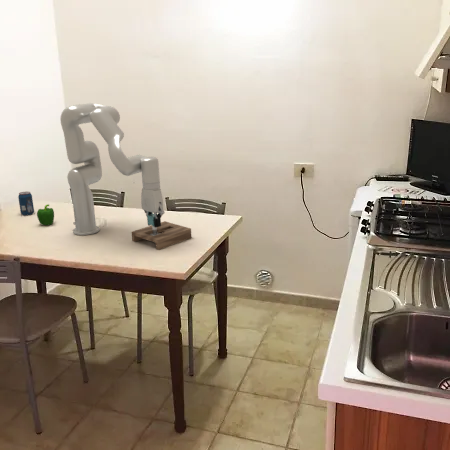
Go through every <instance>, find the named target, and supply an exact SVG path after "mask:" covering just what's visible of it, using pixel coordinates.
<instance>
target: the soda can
mask: <svg viewBox="0 0 450 450" xmlns="http://www.w3.org/2000/svg"><path fill="white" fill-rule="evenodd" d="M17 198H18V205H19V209H20V214H21V215H22V216H26V217H27V216H28V217H29V216H33V214H34V213H35V207H34V202H33V195H32V193H31V191H21V192H19V193H18V197H17Z"/></svg>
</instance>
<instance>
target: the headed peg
mask: <svg viewBox="0 0 450 450" xmlns="http://www.w3.org/2000/svg"><path fill="white" fill-rule="evenodd" d="M146 219H148V221H147V225H148V224H149V225H148V226H151V225H152V230H153V233H151V234H150V235H152V236H155V235H158V234H161V233H157V227H155V223H154V219H155V215H154V213H153V214H150V215H147V216H146Z"/></svg>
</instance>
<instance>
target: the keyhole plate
mask: <svg viewBox="0 0 450 450" xmlns="http://www.w3.org/2000/svg"><path fill="white" fill-rule="evenodd" d="M151 233H153V230H152V225H147V226H146V227H142V228H139V229H136V230H132V231H131V232H130V234H131V242H132V243H133V242H138V241H141V240H147V241H148V242H149V241H150V242H153V243H155V250H157V251H160V250H162V249H165V248H168V247H170V246H172V245H175V244H179V243H181V242H184V241H187V240H189V239H191V238H192V228H190V227H187V226H183V225H179V224H176V223H173V222H169V221H161V226H159V227H157V233H160V234H158V235H155V236H152V235H150V234H151Z"/></svg>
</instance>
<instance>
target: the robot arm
mask: <svg viewBox="0 0 450 450" xmlns="http://www.w3.org/2000/svg"><path fill="white" fill-rule="evenodd" d="M120 120H121V115H120V112H119V111H118V110H117V109H116V108H115V107H114V106H110V105H104V104H99V103H98V104H97V103H91V102H89V103H81V104H80V103H79V104H73V105H69V106H67V107H66V108H64V109H63V111H62V112H61V115H60V124H61V129H62V132H63V137H64V143H65V150H66V156H67V159H68V161H69V163H70V164H73V165H78V164H83V165H80V166H75V167H73V168H71V169H70V170H69V171H68V173H67V176H66V178H67V182H68V185H69V188H70V191H71V194H70V195H71V200H72V208H73V214H74V215H73V216H74V222H73V225H74V226H75V228H73V230H72V233H73V234H74V235H76V236H89V235H90V236H91V235H93V234H94V235H95V234H97V233H98V232H99V231H100V230H101V229H100V226H98V225H97V222H96V213H95V204H94V195H93V191H92V190H91V188H90V187H89V186H90V185H93V184H95V183H98V182H99V181H100V180H102V178H103V177H102V176H103V169H102V163H101V162H102V161H101V153H100V150H99V148H98V145H97V144H96V143H95V142H94V141H91V140H85V136H84V132H83V130H82V128H81V126H79V125H83V124H90V123H91V124H92V125H93V126H94V128H95V129H96V130H97V132H98V133H99V135H100V136H101V137H102V138H103V140H104V141H105V142H106V144H107V145H108V146H107V150H108V156H109V158H110V161H111V162H112V164H113V165H114V167H115V168H116V169H117V170H118V172H119V173H120V174H122V175H123V176H127V177H129V176H133V175H136V174H139V173H141V179H142V180H141V181H142V189H141V194H140V195H141V196H140V198H141V199H140V200H141V202H140V203H141V204H140V205H141V209H142V210H143V211H144V213H145V216H146V217H147V215H150V214H154V215H155V219H154V223H155V227H159V226H161V222H162V221H161V218H162V216H163V215H164V214H165V210H164V200H163V199H164V197H163V192H162V189H161V181H160V179H161V178H160V167H159V159H158V157H156V156H145V155H140V154H137V155H132V156H130V157H129V156H126V155H125V153H124V152H123V150H122V148H121V142H122V141H123V139H124V137H125V132H124V131H123V130H122V129H121V128H120V125H118V124H119V122H120ZM146 219H147V218H146ZM146 221H147V222H148V219H147V220H146ZM147 226H150V225H149V224H148V223H147Z"/></svg>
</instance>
